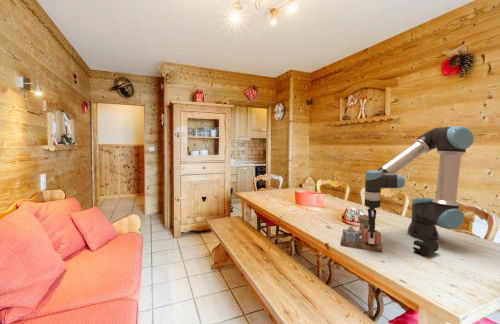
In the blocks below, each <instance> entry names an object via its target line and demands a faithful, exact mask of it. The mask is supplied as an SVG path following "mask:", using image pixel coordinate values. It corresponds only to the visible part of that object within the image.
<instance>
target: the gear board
mask: <svg viewBox="0 0 500 324" xmlns="http://www.w3.org/2000/svg"><path fill="white" fill-rule="evenodd" d="M348 228H349V232H351V233H353V229H354V226H352V225H350V226H348ZM372 230H373V229H372ZM340 246H342V247H347V248H354V249H360V250H364V251H365V250H366V251H371V252H378V253H383V247H382V241H381V240H380V242H379V244H376V243H374V244H369V243H368V242H364V241H363V240H362V237H360V242H359V243H358V242H355V243H352V242H346V241H345V240H342V237H341V239H340Z"/></svg>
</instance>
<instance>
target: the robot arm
mask: <svg viewBox="0 0 500 324" xmlns="http://www.w3.org/2000/svg"><path fill="white" fill-rule="evenodd" d="M474 140H475V138H474V133H473V131H472V130H470V129H469V128H468V127H466V126H463V125H461V126H460V125H452V126H445V127H444V126H443V127H436V128H432V129H429V130H428V131H426V132H424V133H422V135H419V136H418V137H417V138H416V139H414V140H413V143H412V144H410V145H409V146H408V147H406V148H405V149H404V150H402V151H401V152H400V153H398V154H397V155H396V156H394V157H392V158H391V159H390V160H389V161H388V162H386V163H384V164H383V165H382V166H380V167H379V168H378V169H375V170H374V169H373V170H372V169H370V170H366V172H365V178H364V179H365V180H364V181H365V182H364V192H363V195H364V207H367V208H368V209H367V215H368V218H369V220H368V224H369V225H368V229H369V230H368V232H369V241H368V243H369V244H374V239H375V230H376V219H377V210H376V209H379V208H381V199H382V198H381V197H382V189H401V188H403V187H404V186H405V184H406V179H405V177H404V175H403V174H400V173H398V172H399V171H401V170H402V169H403V168H404V167H406V166H408V165H409V164H410V163H412V162H413V161H415V159H417V158H419V157H420V156H421V155H423V154H425V153H428V152H430V151H432V150H434V149H435V150H436V149H437V150H436V152H437V153H438V154H439V162H438V171H437V179H436V180H437V181H436V189H435V197H434V198H431V197H415V198H412V204H411V222H410V223H409V226H408V228H407V235H409V236H410V237H413V238H416V239H417V240H420V239H421V238H424V239H428V240H431V239H433V240H435V241H437V240H439V232H438V229H437V226H438V227H440V228H443V229H447V230H456V229H458V228H459V227H461V225H462V224H463V223H464V222H465V214H464V213H463V211H462V210H461V209H460V203H458V201H457V196H458V195H457V194H458V186H459V177H460V171H461V162H462V161H461V160H462V156H463V155H465V154H466V153H467V150H468V149H469V148H470V147H471V146H472V145H473V144H474ZM372 229H373V230H372Z"/></svg>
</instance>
